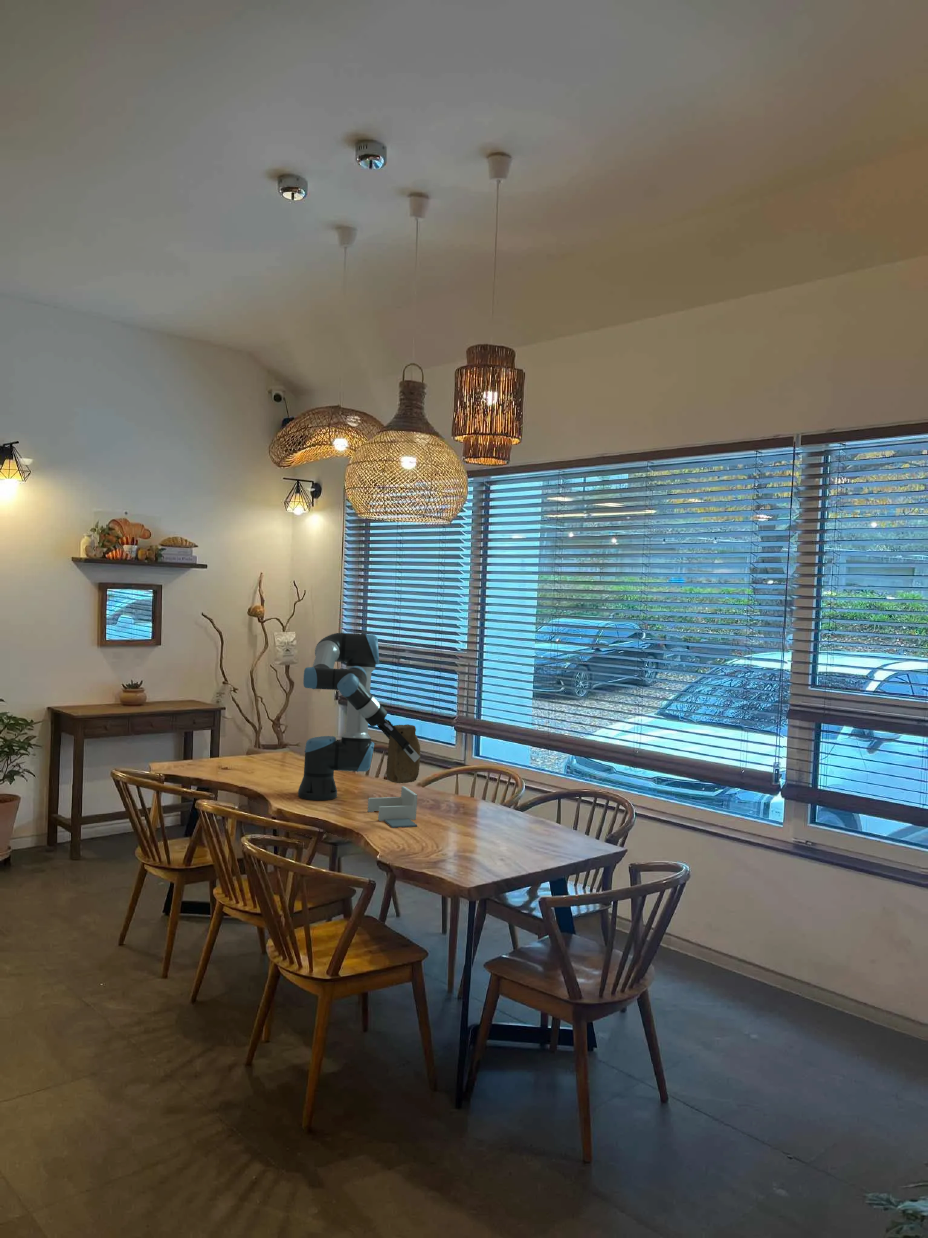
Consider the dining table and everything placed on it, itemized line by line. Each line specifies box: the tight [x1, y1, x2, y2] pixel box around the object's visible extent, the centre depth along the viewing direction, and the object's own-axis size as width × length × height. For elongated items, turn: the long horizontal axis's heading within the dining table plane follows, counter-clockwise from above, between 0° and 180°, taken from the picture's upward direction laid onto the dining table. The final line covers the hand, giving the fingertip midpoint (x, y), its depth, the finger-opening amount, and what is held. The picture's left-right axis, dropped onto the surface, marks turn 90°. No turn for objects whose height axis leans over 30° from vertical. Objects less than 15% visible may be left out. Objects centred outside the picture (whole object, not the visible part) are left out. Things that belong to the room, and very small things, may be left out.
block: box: [386, 723, 421, 784], centre depth 313 cm, size 11×8×20 cm
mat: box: [383, 818, 418, 829], centre depth 314 cm, size 9×9×1 cm
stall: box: [367, 786, 418, 822], centre depth 325 cm, size 14×14×9 cm
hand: (413, 757), depth 315 cm, fingers closed on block, 8 cm apart
